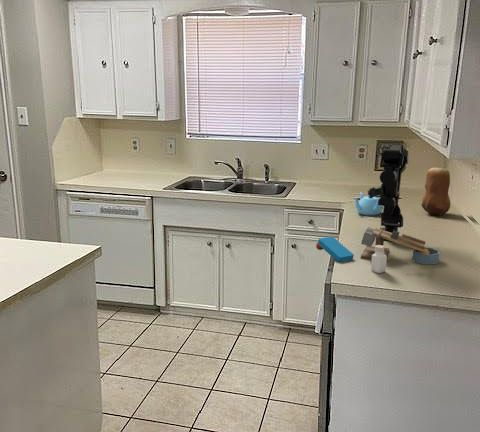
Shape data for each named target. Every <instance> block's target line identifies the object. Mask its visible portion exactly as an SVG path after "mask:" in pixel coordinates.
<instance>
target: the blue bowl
mask: <svg viewBox="0 0 480 432" xmlns="http://www.w3.org/2000/svg"><path fill="white" fill-rule="evenodd" d="M424 248H425V249H427V250H428V251H429V254H422V253H419V250H416V249H413V252H412V259H411V260H412V261H413V262H415V263H418V264H422V265H437V264H439V263H440V253H441V252H440V249H436V248H433V247H427V246H426V247H425V246H424Z"/></svg>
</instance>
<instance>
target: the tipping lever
mask: <svg viewBox="0 0 480 432" xmlns="http://www.w3.org/2000/svg"><path fill="white" fill-rule="evenodd" d="M363 233H364V234H363V237H362V239H361V244H360V245H364V246H369V247H371V246H372V247H373V245H374V242H375V241H376V234H378V235H381V238H383V239H386V240H385V241H387V240H389V241H390V242H393V243H396V244H398V245H402V246H405V247H408V248H411V249H413V250H414V249H416V250H419V251H422V252H423V250H424V247H425V245H426V241H425V240H423V239H419V238H416V237H412V236H410V235H407V234H404V233H402V235H400V233H401V232H400V231H398V232H397V231H394V230H393V233H390V232H387V231H384V230H383V229H380V228H378V227H375V228H371V227H367V228H366V229H365V231H364V232H363ZM389 241H388V242H389Z"/></svg>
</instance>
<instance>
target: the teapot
mask: <svg viewBox="0 0 480 432" xmlns="http://www.w3.org/2000/svg"><path fill="white" fill-rule="evenodd" d="M359 195H360V198H359V199H358V198H357V197H353V200H355V202H354V204H355V209H356V212H358V213H359V214H360V215H363V216H371V217H372V216H378V215H380V214H382V212H383V210H384V206H383V205H378V200H379V199H380V198H381V197H377V196H375V197H373V198H370V197H369V195H368V194H367V196H364V193H363V192H361V191H360V192H359Z"/></svg>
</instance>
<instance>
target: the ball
mask: <svg viewBox="0 0 480 432" xmlns="http://www.w3.org/2000/svg"><path fill="white" fill-rule="evenodd" d="M419 253H422V254H429V251H428V250H427V249H425V248H424V250H423V252H422V251H419Z"/></svg>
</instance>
